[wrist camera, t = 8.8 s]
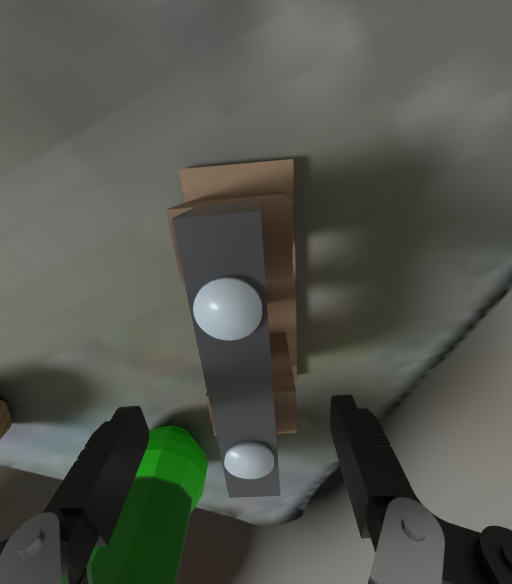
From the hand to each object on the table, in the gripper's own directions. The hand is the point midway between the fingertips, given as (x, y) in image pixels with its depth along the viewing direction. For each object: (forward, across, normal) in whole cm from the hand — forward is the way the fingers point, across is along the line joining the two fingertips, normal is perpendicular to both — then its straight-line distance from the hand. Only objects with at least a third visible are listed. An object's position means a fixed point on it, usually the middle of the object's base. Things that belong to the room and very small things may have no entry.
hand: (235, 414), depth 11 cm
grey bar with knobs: (+5, 0, 0) cm, 5 cm away
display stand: (+13, 0, 0) cm, 13 cm away
